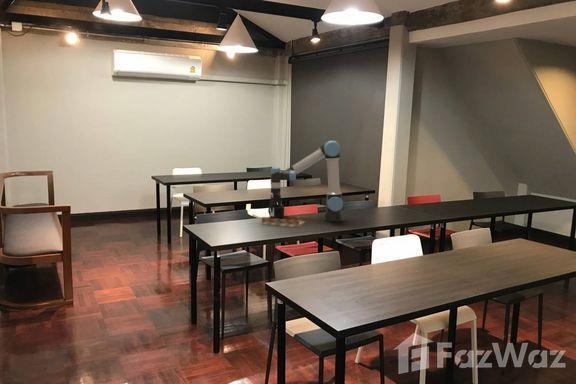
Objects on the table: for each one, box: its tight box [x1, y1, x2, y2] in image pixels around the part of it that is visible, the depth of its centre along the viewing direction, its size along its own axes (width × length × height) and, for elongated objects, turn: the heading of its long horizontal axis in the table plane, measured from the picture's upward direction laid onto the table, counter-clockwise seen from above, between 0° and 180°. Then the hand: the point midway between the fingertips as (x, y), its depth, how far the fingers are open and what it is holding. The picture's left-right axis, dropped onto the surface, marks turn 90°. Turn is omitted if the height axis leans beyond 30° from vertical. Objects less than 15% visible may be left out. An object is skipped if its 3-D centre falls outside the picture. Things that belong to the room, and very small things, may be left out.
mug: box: [267, 203, 285, 219], centre depth 365 cm, size 11×15×12 cm
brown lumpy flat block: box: [261, 214, 306, 228], centre depth 363 cm, size 30×16×5 cm, turn 68°
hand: (275, 214), depth 365 cm, fingers open, 13 cm apart
